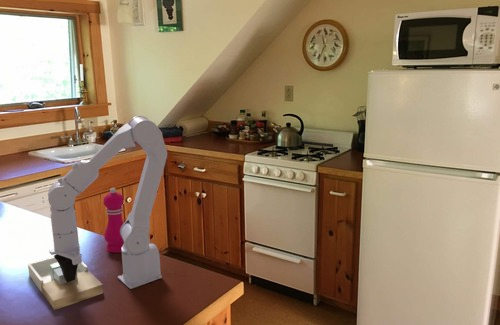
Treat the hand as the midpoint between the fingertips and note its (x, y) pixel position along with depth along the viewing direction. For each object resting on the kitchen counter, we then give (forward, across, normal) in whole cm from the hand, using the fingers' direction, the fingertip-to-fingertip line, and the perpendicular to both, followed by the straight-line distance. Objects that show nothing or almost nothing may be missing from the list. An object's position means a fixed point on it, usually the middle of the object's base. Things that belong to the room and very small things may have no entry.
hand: (70, 280), depth 112 cm
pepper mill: (+4, -17, +20) cm, 27 cm away
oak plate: (+3, +1, 0) cm, 3 cm away
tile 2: (+1, -3, 0) cm, 3 cm away
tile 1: (+1, -7, 0) cm, 7 cm away
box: (+3, -10, 0) cm, 11 cm away
